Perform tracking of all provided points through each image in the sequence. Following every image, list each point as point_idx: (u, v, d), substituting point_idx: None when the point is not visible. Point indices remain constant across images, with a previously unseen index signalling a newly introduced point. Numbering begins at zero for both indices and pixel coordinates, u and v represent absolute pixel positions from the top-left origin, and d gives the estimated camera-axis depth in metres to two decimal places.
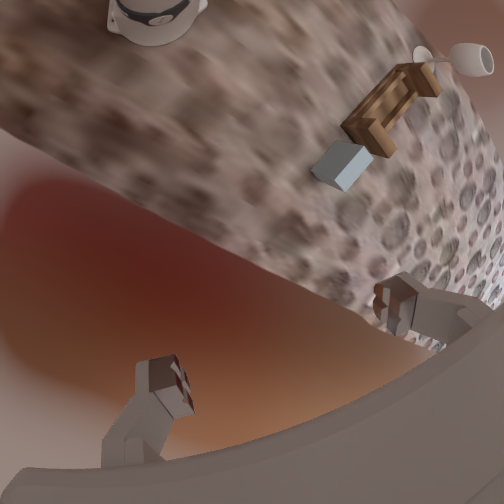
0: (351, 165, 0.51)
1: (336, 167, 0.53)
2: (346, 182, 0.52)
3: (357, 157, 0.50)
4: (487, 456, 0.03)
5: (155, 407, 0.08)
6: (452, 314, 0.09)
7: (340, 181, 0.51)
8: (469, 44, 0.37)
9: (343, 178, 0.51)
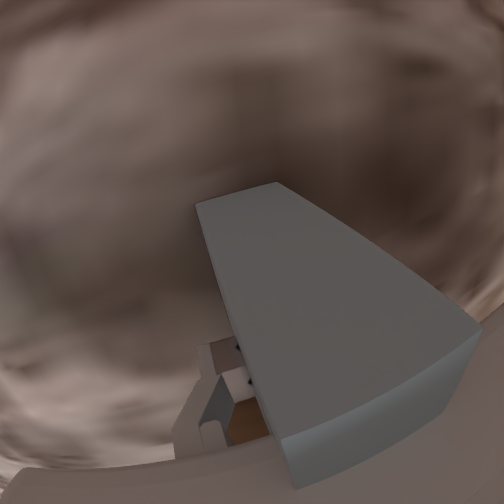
0: None
1: None
2: (359, 444, 0.04)
3: None
4: (487, 457, 0.03)
5: (222, 390, 0.08)
6: None
7: (428, 386, 0.04)
8: None
9: (410, 417, 0.04)
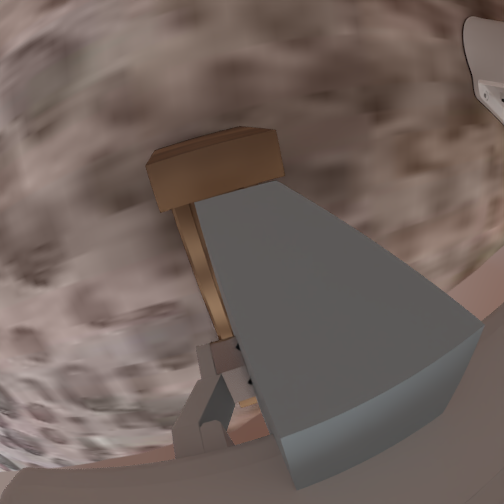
0: None
1: None
2: (359, 443, 0.04)
3: None
4: (487, 456, 0.03)
5: (222, 390, 0.08)
6: None
7: (429, 384, 0.04)
8: None
9: (411, 416, 0.04)
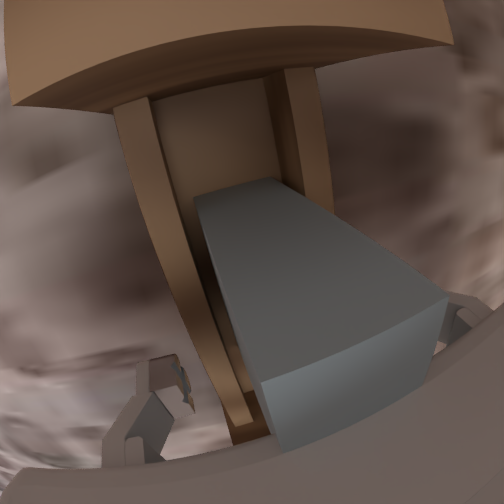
0: None
1: None
2: (338, 404, 0.05)
3: None
4: (487, 456, 0.03)
5: (155, 407, 0.08)
6: (452, 314, 0.09)
7: (399, 347, 0.04)
8: None
9: (386, 381, 0.05)
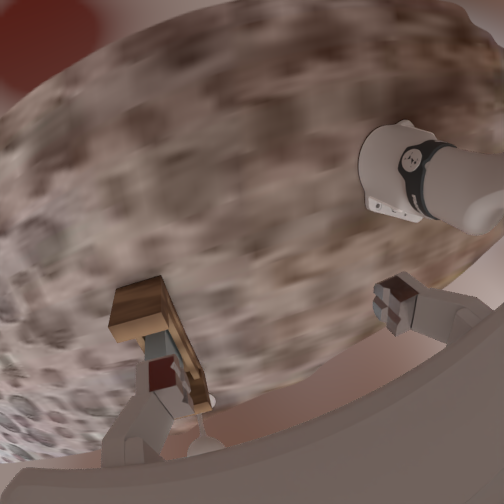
0: None
1: None
2: None
3: None
4: (487, 457, 0.03)
5: (155, 407, 0.08)
6: (452, 314, 0.09)
7: None
8: None
9: None
